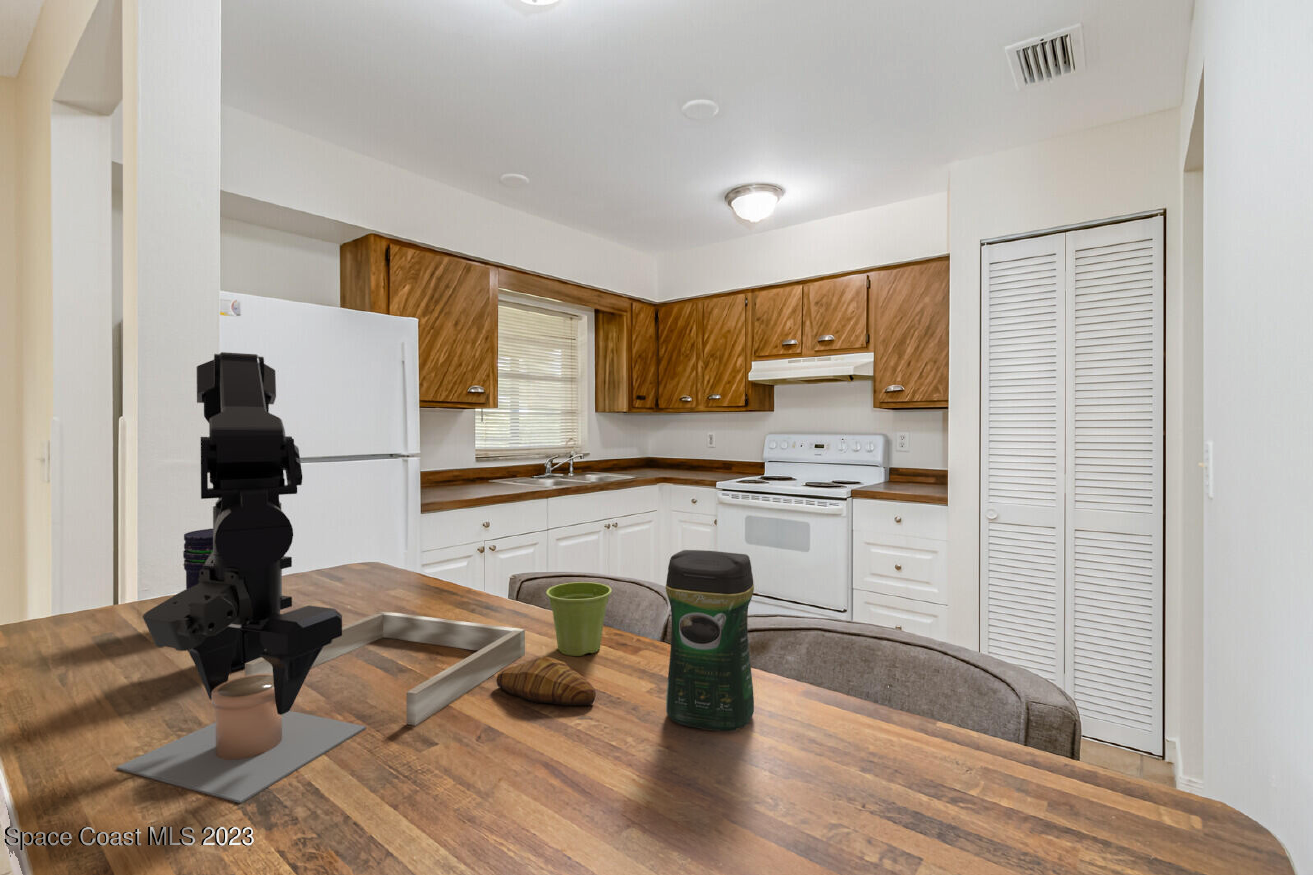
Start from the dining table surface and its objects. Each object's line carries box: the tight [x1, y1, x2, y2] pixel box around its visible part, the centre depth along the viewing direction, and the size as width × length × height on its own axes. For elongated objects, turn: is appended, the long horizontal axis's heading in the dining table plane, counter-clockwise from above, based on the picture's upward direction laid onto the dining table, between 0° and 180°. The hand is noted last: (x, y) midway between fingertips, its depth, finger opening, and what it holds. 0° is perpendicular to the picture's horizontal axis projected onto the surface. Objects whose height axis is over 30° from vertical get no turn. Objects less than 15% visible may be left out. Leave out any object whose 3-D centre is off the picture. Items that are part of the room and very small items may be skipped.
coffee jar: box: [665, 549, 755, 733], centre depth 69 cm, size 10×8×19 cm
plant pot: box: [545, 581, 613, 657], centre depth 90 cm, size 9×9×9 cm
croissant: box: [495, 656, 597, 707], centre depth 74 cm, size 14×7×5 cm, turn 67°
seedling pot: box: [211, 673, 282, 760], centre depth 62 cm, size 6×6×6 cm
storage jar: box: [182, 528, 213, 590], centre depth 101 cm, size 10×10×15 cm
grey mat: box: [116, 710, 367, 804], centre depth 62 cm, size 16×14×1 cm
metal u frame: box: [244, 611, 526, 727], centre depth 82 cm, size 25×22×4 cm
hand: (249, 705), depth 62 cm, fingers open, 9 cm apart
